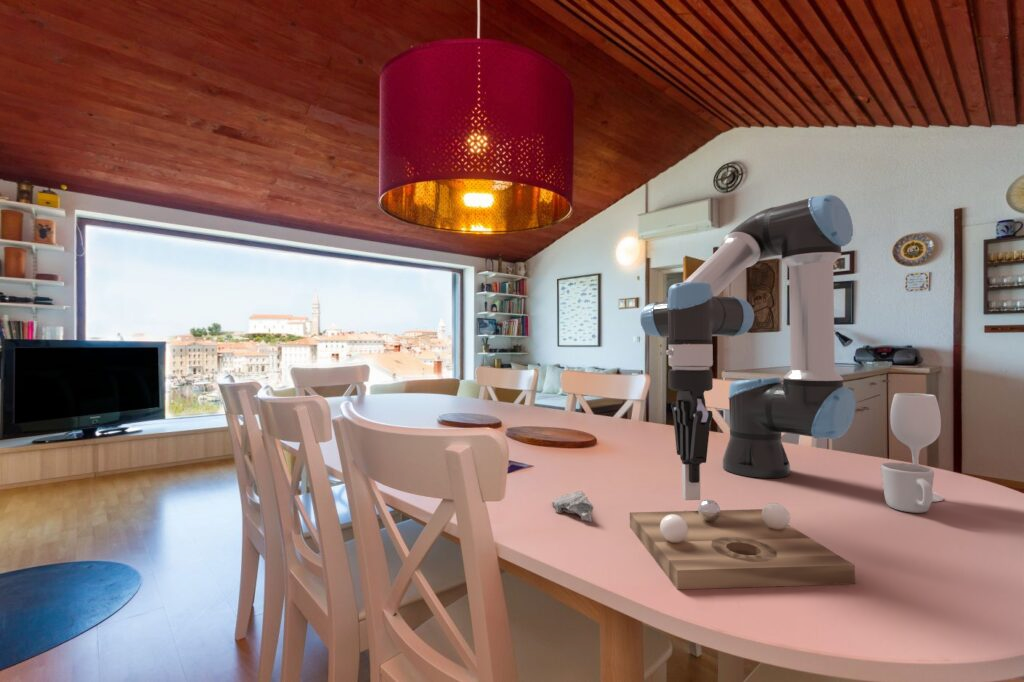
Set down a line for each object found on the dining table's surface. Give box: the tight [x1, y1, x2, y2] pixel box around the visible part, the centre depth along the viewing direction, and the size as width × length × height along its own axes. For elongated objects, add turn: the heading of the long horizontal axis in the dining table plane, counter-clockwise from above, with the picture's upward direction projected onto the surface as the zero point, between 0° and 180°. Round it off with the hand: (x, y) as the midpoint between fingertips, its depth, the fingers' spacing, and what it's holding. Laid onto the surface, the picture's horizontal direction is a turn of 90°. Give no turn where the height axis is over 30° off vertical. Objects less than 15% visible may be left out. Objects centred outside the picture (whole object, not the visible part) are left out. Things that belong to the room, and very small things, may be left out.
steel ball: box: [697, 499, 721, 522], centre depth 81 cm, size 4×4×4 cm
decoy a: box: [762, 502, 791, 530], centre depth 78 cm, size 4×4×4 cm
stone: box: [551, 490, 594, 522], centre depth 94 cm, size 6×12×4 cm, turn 5°
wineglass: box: [889, 392, 945, 503], centre depth 102 cm, size 9×9×21 cm
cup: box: [880, 462, 935, 514], centre depth 92 cm, size 11×8×8 cm
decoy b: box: [660, 514, 688, 543], centre depth 73 cm, size 4×4×4 cm
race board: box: [629, 508, 856, 590], centre depth 75 cm, size 22×24×2 cm
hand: (691, 498), depth 88 cm, fingers closed
